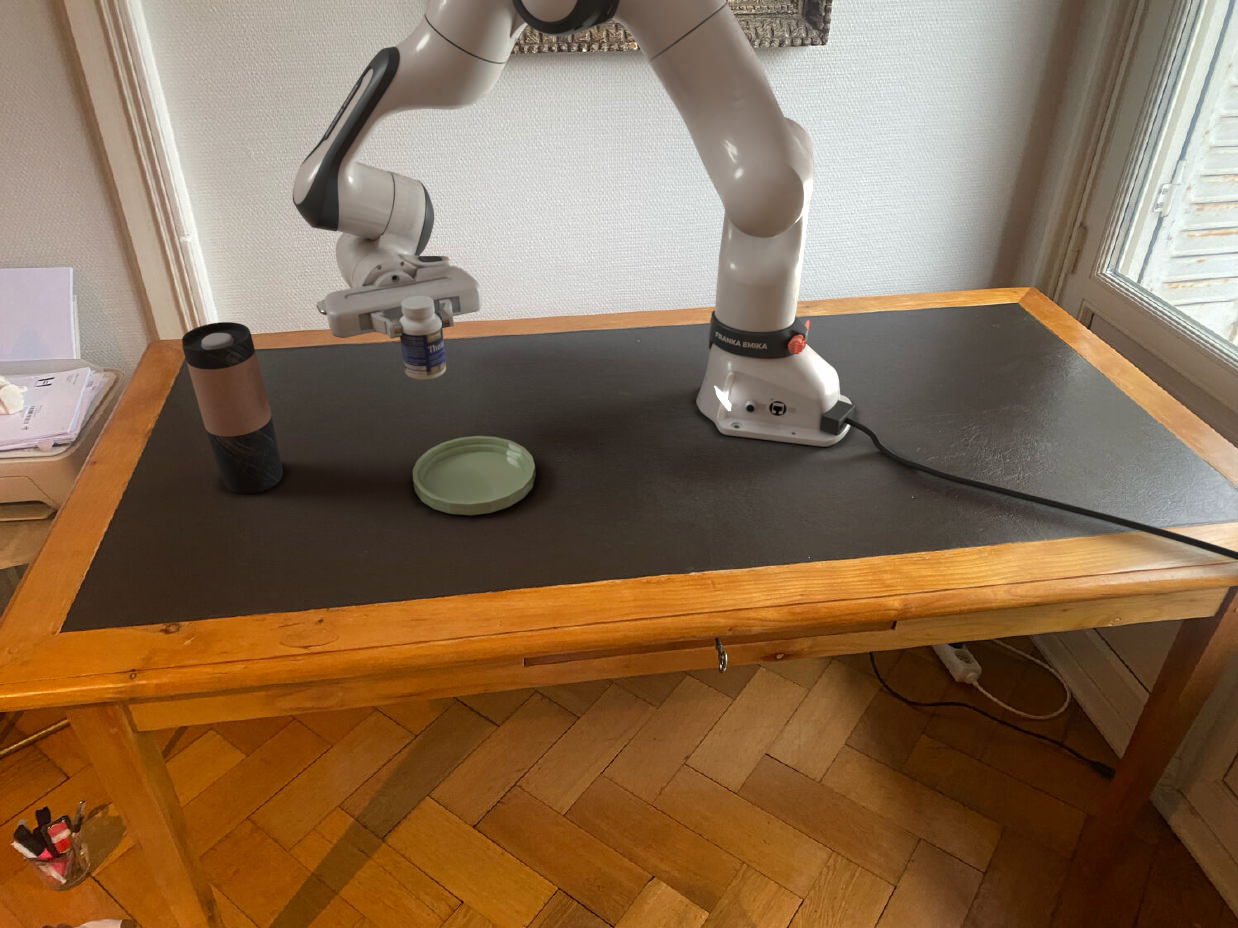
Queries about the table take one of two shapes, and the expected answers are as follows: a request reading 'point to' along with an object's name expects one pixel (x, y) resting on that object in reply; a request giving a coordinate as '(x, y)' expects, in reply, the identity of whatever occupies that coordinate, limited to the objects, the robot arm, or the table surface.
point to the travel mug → (234, 405)
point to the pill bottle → (422, 339)
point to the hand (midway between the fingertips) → (422, 327)
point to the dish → (474, 475)
